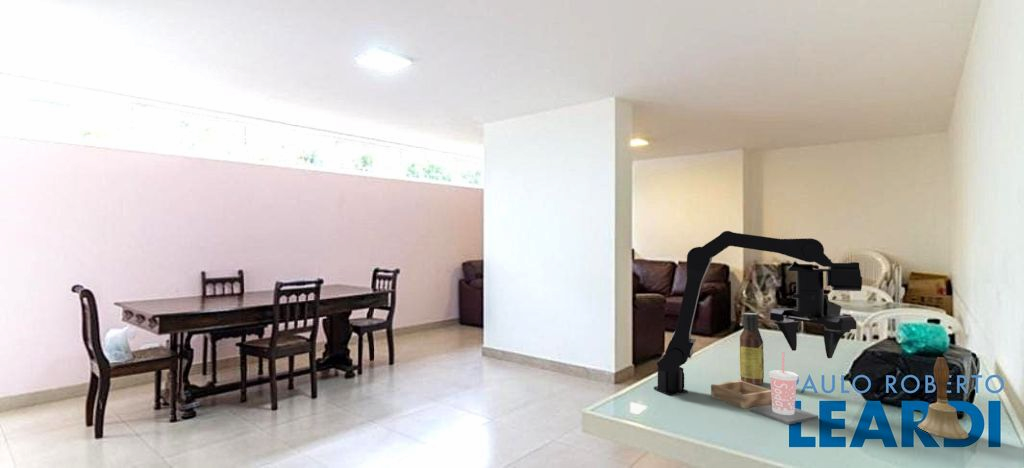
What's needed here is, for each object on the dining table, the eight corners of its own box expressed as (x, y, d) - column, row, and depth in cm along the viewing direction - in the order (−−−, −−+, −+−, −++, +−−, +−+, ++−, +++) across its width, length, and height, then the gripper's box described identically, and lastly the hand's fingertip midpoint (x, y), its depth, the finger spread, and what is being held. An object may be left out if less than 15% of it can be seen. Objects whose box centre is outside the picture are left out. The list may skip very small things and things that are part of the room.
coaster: (788, 424, 112) (788, 421, 112) (750, 410, 121) (750, 408, 121) (818, 418, 116) (818, 415, 116) (779, 405, 126) (779, 402, 126)
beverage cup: (762, 409, 120) (762, 350, 121) (780, 405, 123) (780, 348, 123) (786, 417, 115) (786, 356, 115) (804, 413, 118) (804, 353, 118)
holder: (744, 408, 123) (744, 396, 123) (711, 396, 133) (711, 384, 133) (774, 402, 127) (774, 390, 127) (740, 391, 137) (740, 380, 137)
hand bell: (957, 442, 103) (956, 363, 103) (910, 428, 110) (909, 355, 111) (976, 435, 107) (975, 359, 107) (929, 422, 114) (929, 351, 114)
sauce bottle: (768, 386, 142) (768, 315, 142) (745, 385, 142) (745, 315, 142) (757, 379, 148) (757, 311, 148) (735, 379, 148) (735, 311, 149)
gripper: (871, 291, 117) (872, 358, 117) (798, 285, 134) (799, 344, 134) (839, 294, 113) (840, 364, 113) (767, 287, 130) (769, 348, 130)
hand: (811, 354), depth 122 cm, fingers open, 9 cm apart
